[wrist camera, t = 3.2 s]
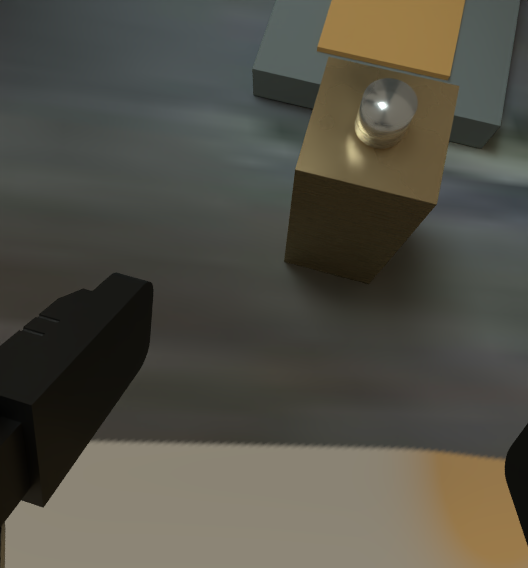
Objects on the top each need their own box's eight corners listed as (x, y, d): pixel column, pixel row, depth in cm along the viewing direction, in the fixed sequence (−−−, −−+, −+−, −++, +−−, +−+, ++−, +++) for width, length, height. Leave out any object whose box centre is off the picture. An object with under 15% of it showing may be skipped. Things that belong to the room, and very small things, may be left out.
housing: (284, 261, 22) (297, 147, 12) (305, 186, 23) (333, 26, 13) (368, 284, 22) (453, 184, 12) (386, 206, 23) (476, 57, 13)
